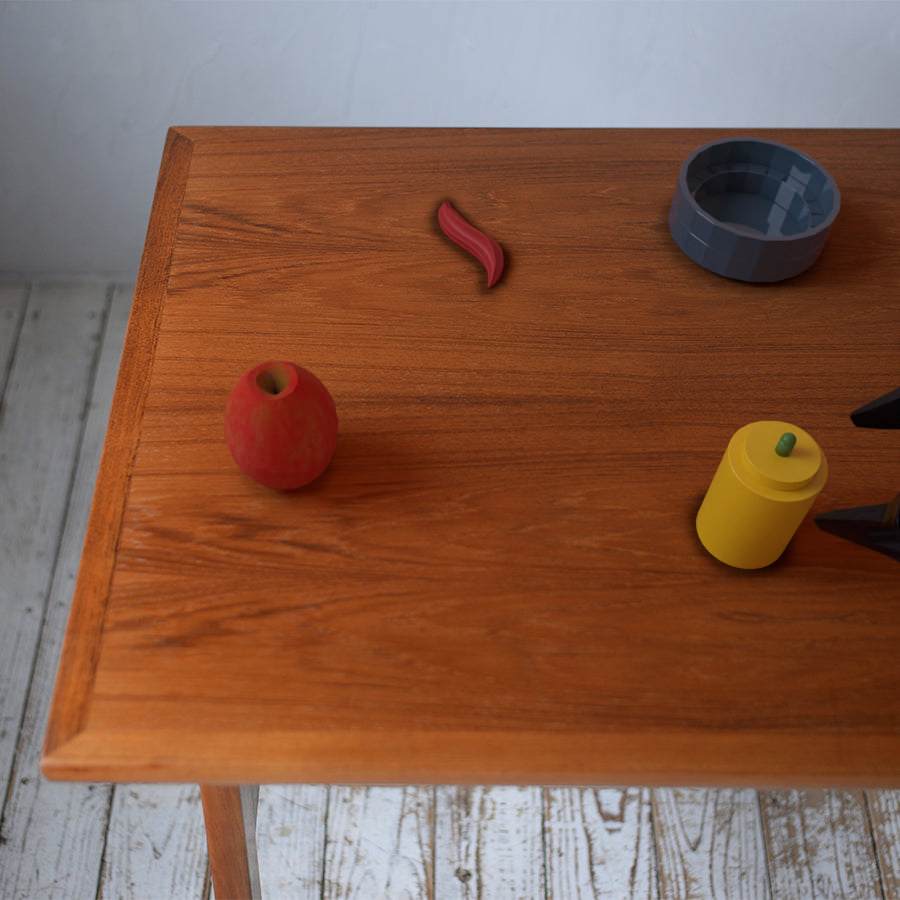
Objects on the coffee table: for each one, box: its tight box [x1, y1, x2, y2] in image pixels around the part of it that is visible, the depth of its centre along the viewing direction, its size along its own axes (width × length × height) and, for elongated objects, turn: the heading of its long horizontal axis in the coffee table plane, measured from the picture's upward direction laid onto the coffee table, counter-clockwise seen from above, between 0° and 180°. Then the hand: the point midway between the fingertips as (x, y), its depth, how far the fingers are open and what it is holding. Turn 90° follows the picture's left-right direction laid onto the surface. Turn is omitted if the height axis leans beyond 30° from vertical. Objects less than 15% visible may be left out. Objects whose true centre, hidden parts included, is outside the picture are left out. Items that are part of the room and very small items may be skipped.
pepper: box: [695, 420, 829, 570], centre depth 67 cm, size 7×7×12 cm
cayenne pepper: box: [437, 200, 504, 289], centre depth 88 cm, size 12×5×2 cm, turn 13°
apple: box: [222, 359, 340, 491], centre depth 69 cm, size 8×8×11 cm
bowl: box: [667, 136, 842, 283], centre depth 88 cm, size 14×14×6 cm
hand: (835, 469), depth 62 cm, fingers open, 9 cm apart
